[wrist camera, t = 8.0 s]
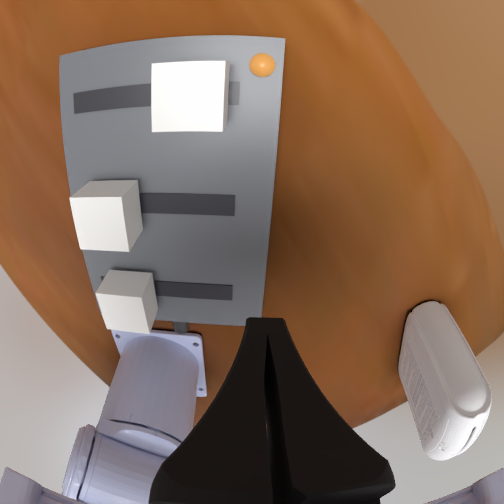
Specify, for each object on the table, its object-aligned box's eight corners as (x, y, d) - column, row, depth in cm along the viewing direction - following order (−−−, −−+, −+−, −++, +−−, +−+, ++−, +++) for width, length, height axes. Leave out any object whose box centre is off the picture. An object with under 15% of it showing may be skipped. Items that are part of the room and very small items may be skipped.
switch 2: (227, 123, 14) (222, 131, 12) (166, 123, 14) (151, 132, 12) (230, 63, 12) (225, 60, 10) (166, 65, 12) (151, 63, 10)
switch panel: (258, 326, 24) (258, 347, 22) (114, 314, 24) (105, 334, 22) (281, 42, 14) (286, 37, 12) (77, 55, 13) (56, 56, 11)
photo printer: (429, 363, 28) (465, 459, 18) (393, 374, 29) (424, 476, 18) (446, 293, 23) (511, 409, 12) (403, 305, 23) (460, 434, 13)
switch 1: (158, 308, 20) (149, 334, 18) (118, 304, 20) (107, 328, 18) (152, 272, 19) (141, 297, 17) (109, 269, 19) (95, 293, 17)
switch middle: (142, 229, 17) (129, 252, 15) (97, 228, 17) (80, 249, 15) (137, 179, 15) (121, 197, 13) (90, 181, 15) (69, 197, 13)
